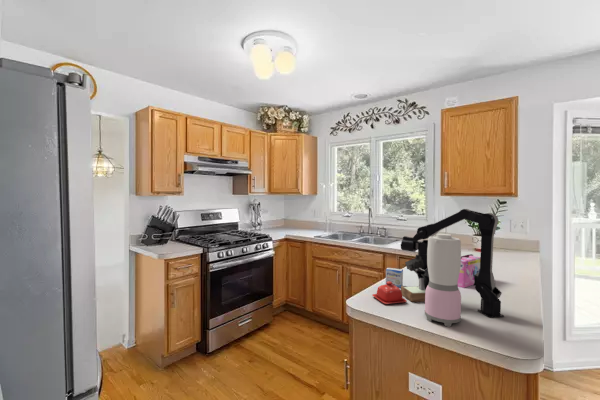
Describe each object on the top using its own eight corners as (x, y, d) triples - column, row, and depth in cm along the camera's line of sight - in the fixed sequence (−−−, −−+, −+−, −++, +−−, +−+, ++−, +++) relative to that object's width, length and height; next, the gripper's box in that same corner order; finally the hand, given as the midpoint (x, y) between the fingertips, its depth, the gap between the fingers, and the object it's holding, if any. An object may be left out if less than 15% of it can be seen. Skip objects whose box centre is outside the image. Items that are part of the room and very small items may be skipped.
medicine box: (385, 285, 150) (385, 268, 149) (387, 283, 153) (387, 267, 153) (401, 288, 146) (401, 270, 146) (402, 285, 150) (403, 269, 150)
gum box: (470, 277, 167) (471, 253, 167) (485, 280, 161) (486, 256, 160) (448, 284, 154) (449, 258, 153) (464, 288, 147) (464, 261, 147)
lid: (437, 293, 129) (437, 280, 129) (411, 294, 128) (412, 281, 127) (427, 288, 137) (427, 275, 137) (403, 288, 135) (403, 276, 135)
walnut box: (441, 301, 129) (441, 292, 128) (411, 302, 127) (411, 293, 127) (428, 293, 138) (428, 285, 138) (400, 294, 136) (400, 286, 136)
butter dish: (384, 306, 122) (385, 286, 122) (370, 297, 133) (371, 278, 133) (408, 304, 125) (408, 284, 125) (393, 295, 136) (393, 277, 136)
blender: (455, 330, 101) (457, 238, 100) (419, 319, 109) (421, 234, 108) (466, 316, 112) (468, 233, 112) (433, 307, 121) (435, 230, 120)
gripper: (398, 249, 140) (397, 282, 141) (419, 258, 122) (418, 295, 122) (420, 249, 142) (419, 281, 142) (443, 258, 123) (443, 294, 124)
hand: (424, 287), depth 132 cm, fingers open, 3 cm apart
